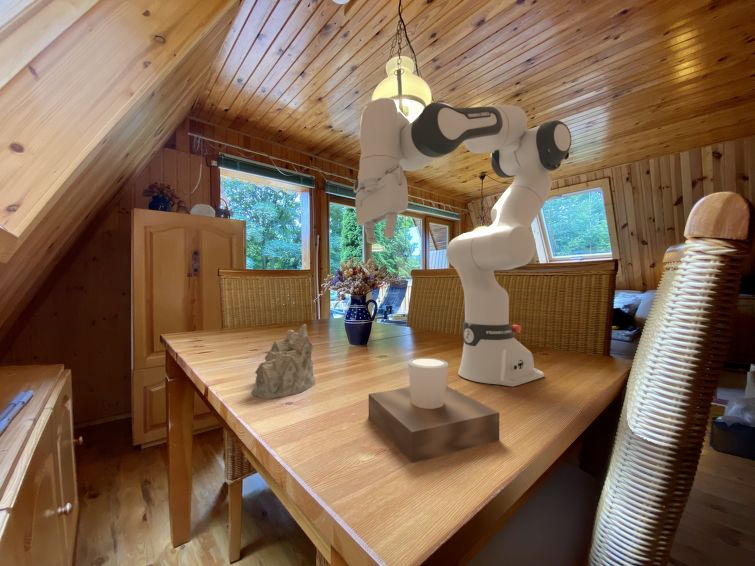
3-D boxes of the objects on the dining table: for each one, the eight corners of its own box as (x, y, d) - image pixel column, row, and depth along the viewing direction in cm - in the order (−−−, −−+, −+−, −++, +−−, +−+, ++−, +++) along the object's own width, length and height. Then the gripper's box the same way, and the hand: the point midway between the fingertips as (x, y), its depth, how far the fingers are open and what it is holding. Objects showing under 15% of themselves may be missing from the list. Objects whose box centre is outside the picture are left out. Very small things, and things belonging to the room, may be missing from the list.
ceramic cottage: (292, 370, 88) (290, 317, 86) (327, 387, 76) (326, 326, 75) (235, 387, 77) (232, 326, 75) (265, 410, 65) (262, 338, 64)
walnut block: (440, 406, 65) (440, 382, 65) (499, 443, 50) (499, 412, 50) (368, 420, 58) (368, 393, 58) (411, 467, 44) (411, 432, 44)
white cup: (448, 412, 50) (448, 368, 50) (405, 408, 52) (405, 365, 52) (447, 396, 57) (447, 358, 57) (409, 393, 58) (410, 355, 58)
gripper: (416, 162, 60) (416, 234, 60) (374, 190, 79) (374, 245, 79) (386, 157, 58) (386, 232, 58) (351, 187, 77) (350, 244, 77)
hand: (379, 240), depth 69 cm, fingers open, 8 cm apart
